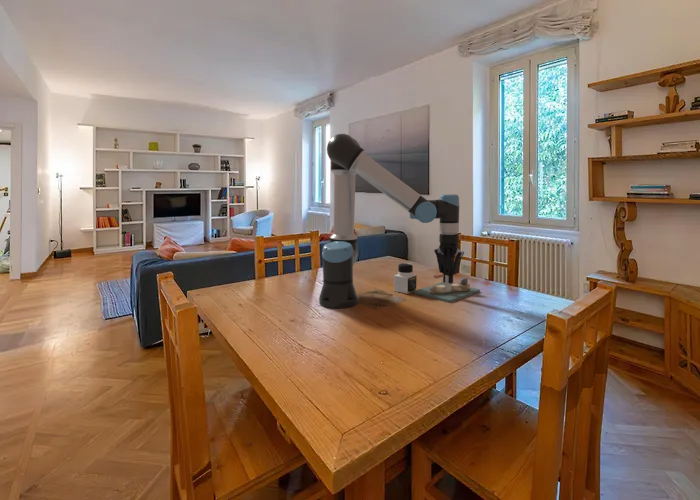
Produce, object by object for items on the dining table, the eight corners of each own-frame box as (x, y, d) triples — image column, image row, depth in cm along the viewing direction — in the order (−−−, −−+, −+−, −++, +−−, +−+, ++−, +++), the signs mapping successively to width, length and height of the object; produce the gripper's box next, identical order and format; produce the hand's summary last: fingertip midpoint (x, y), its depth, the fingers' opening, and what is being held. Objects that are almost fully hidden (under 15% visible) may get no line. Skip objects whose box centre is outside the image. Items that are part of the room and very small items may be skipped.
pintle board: (449, 302, 148) (450, 287, 147) (413, 293, 162) (413, 279, 161) (479, 291, 163) (480, 278, 162) (444, 283, 176) (444, 271, 175)
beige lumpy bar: (465, 287, 164) (465, 282, 164) (472, 290, 160) (472, 284, 159) (427, 291, 160) (427, 285, 159) (433, 294, 155) (433, 288, 155)
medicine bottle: (407, 294, 160) (408, 266, 158) (393, 291, 165) (393, 264, 163) (416, 290, 166) (417, 263, 164) (402, 287, 170) (402, 261, 168)
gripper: (468, 233, 150) (467, 291, 154) (441, 231, 160) (440, 286, 164) (457, 235, 146) (456, 295, 149) (430, 233, 155) (430, 289, 159)
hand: (448, 290), depth 156 cm, fingers closed
